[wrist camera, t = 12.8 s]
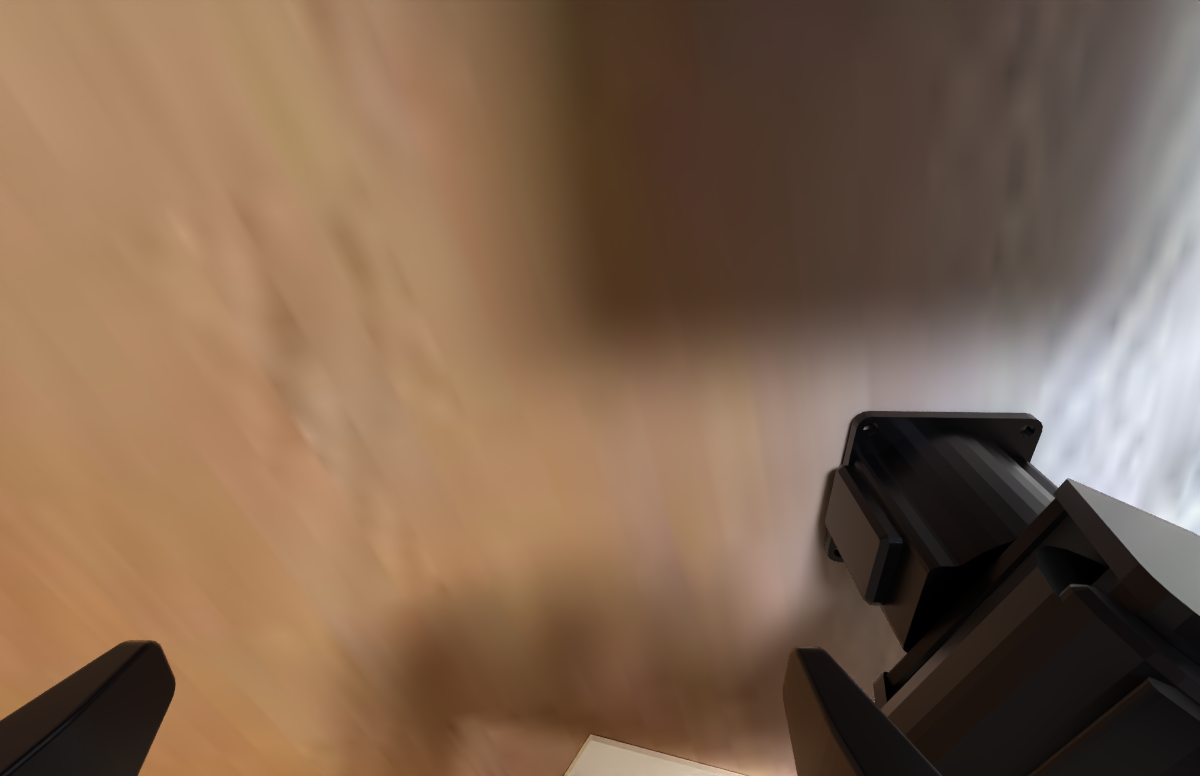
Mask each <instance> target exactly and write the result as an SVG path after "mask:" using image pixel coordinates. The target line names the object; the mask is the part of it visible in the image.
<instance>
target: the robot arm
mask: <svg viewBox="0 0 1200 776" xmlns="http://www.w3.org/2000/svg"><path fill="white" fill-rule="evenodd" d="M869 423H874V424H873V425H872V427H871V428H869V429H866V430H863V429H864V427H865V426H866V425H867V424H869ZM1026 425H1028V426H1027V428H1026V429H1025V430H1023V431H1021V429H1022V428H1023V427H1025V426H1026ZM1042 428H1043V426H1042V423H1041V422H1040V421H1039V420H1037V419H1036V418H1035V417H1033V416H1032V415H1031V414H1027V413H979V412H901V411H867V412H862V413H861V414H859V415H857V416H856V417H855V418H854V420H853V423H852V426H851V430H850V435H849V439H848V444H847V448H846V452H845V457H844V461H843V465H841V466H840V467H839V468H838V469H837V471H836V474H835V478H834V483H833V487H832V492H831V496H830V501H829V505H828V510H827V514H826V519H825V525H826V527H827V529H828V531H827V536H826V540H825V544H824V546H825V550H826V552H827V555H828V556H829V558H830V559H831V560H833V561H837V562H845V564H846V566H847V568H848V570H849V572H850V574H851V576H852V578H853V580H854V582H855V584H856V586H857V588H858V590H859V592H860V594H861V596H862V598H863V599H864V600H865V601H866V602H867V603H868V604H869V605H880V607H881V609H882V610H883V612H884V614H885V616H886V618H887V620H888V622H889V624H890V625H891V627H892V629H893V631H894V633H895V635H896V637H897V638H898V640H899V642H900V644H901V646H902V648H903V650H904V651H905V652H907V654H906V655H905V656H904V657H903V658H902V659H901V660H900V661H899V662H898V663H897V664H896V665H895V666H894V668H893V669H892V670H891V671H890V672H884V673H883V674H882V675H881V676H880V677H879V678H878V679H877V680H876V681H875V682H874V684H873V687H874V695H875V703H874V702H873V701H872V700H871V699H870V698H869V697H868V696H867V695H866V694H865V693H864V692H863V690H862V689H861V688H860V687H859V686H858V685H857V684H856V683H855V682H854V681H853V680H852V679H851V678H850V677H849V676H848V674H847V673H846V672H845V671H844V670H843V669H842V668H841V667H840V666H839V665H838V664H837V663H836V662H835V661H834V659H833V658H832V657H831V656H830V655H829V654H828V653H827V652H826V651H825V650H823V649H822V648H820V647H794V648H793V649H792V650H791V652H790V656H789V660H788V665H787V670H786V674H785V679H784V683H783V700H784V706H785V712H786V717H787V722H788V727H789V733H790V738H791V743H792V749H793V754H794V759H795V765H796V770H797V775H798V776H1200V536H1198V535H1197V534H1195V533H1193V532H1191V531H1188V530H1186V529H1184V528H1182V527H1179V526H1177V525H1175V524H1172V523H1170V522H1168V521H1166V520H1163V519H1161V518H1159V517H1156V516H1154V515H1152V514H1149V513H1147V512H1145V511H1143V510H1140V509H1138V508H1136V507H1133V506H1131V505H1129V504H1126V503H1124V502H1122V501H1120V500H1117V499H1115V498H1113V497H1110V496H1108V495H1106V494H1103V493H1101V492H1099V491H1097V490H1094V489H1092V488H1090V487H1087V486H1085V485H1083V484H1081V483H1078V482H1076V481H1074V480H1071V479H1069V478H1068V479H1066V480H1065V481H1064V483H1063V484H1062V485H1061V486H1060V487H1059V488H1058V487H1056V486H1055V485H1054V484H1053V483H1052V482H1051V481H1050V480H1049V479H1047V478H1046V477H1045V476H1044V475H1043V474H1042V473H1041V472H1040V471H1038V470H1037V469H1036V468H1035V467H1034V466H1033V465H1032V464H1031V463H1030V461H1031V458H1032V456H1033V453H1034V451H1035V448H1036V445H1037V443H1038V440H1039V438H1040V435H1041V433H1042ZM836 548H838V550H835V549H836ZM174 692H175V677H174V675H173V672H172V670H171V668H170V665H169V663H168V661H167V658H166V656H165V654H164V651H163V649H162V647H161V645H160V644H159V643H157V642H156V641H151V640H130V641H125V642H123V643H120V644H119V645H117V646H115V647H114V648H112V649H111V650H109V651H107V652H106V653H104V654H103V655H101V656H100V657H98V658H97V659H95V660H94V661H92V662H90V663H89V664H87V665H86V666H84V667H83V668H81V669H80V670H78V671H77V672H75V673H73V674H72V675H70V676H69V677H67V678H66V679H64V680H63V681H61V682H60V683H58V684H56V685H55V686H53V687H52V688H50V689H49V690H47V691H46V692H44V693H43V694H41V695H39V696H38V697H36V698H35V699H33V700H32V701H30V702H29V703H27V704H26V705H24V706H22V707H21V708H19V709H18V710H16V711H15V712H13V713H12V714H10V715H9V716H7V717H5V718H4V719H2V720H1V721H0V776H138V774H139V772H140V769H141V767H142V765H143V763H144V761H145V758H146V756H147V754H148V752H149V749H150V747H151V745H152V743H153V741H154V738H155V736H156V734H157V732H158V729H159V727H160V725H161V723H162V721H163V718H164V716H165V714H166V712H167V709H168V707H169V705H170V703H171V701H172V698H173V695H174Z"/></svg>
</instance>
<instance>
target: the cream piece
mask: <svg viewBox="0 0 1200 776" xmlns="http://www.w3.org/2000/svg"><path fill="white" fill-rule="evenodd" d="M564 776H745V775H742V774H738V773H734V772H730V771H727V770H723V769H719V768H715V767H712V766H708V765H704V764H700V763H697V762H693V761H689V760H685V759H682V758H678V757H674V756H670V755H667V754H663V753H659V752H655V751H652V750H648V749H644V748H640V747H637V746H633V745H629V744H625V743H622V742H618V741H614V740H610V739H607V738H603V737H599V736H595V735H592V734H590V736H589V737H588V739H587V740H586V742H585V743H584V745H583V747H582V748H581V750H580V751H579V753H578V754H577V756H576V758H575V759H574V761H573V762H572V764H571V765H570V767H569V769H568V770H567V772H566V773H565V775H564Z"/></svg>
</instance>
